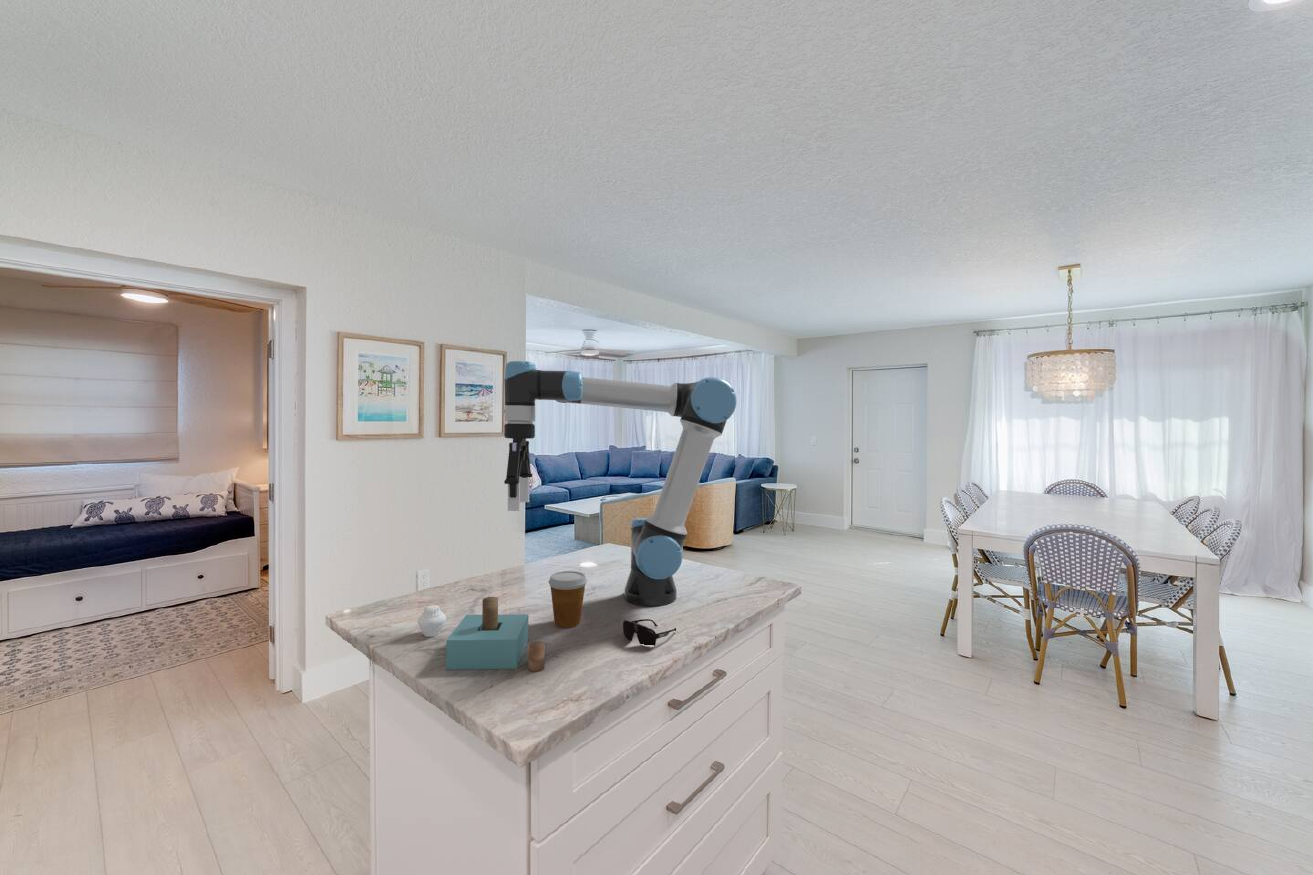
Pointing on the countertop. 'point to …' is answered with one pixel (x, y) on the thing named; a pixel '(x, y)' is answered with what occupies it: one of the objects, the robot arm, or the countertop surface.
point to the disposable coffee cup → (567, 597)
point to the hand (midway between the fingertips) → (518, 506)
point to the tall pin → (490, 614)
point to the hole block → (487, 643)
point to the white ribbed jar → (431, 621)
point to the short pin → (536, 656)
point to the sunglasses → (642, 632)
